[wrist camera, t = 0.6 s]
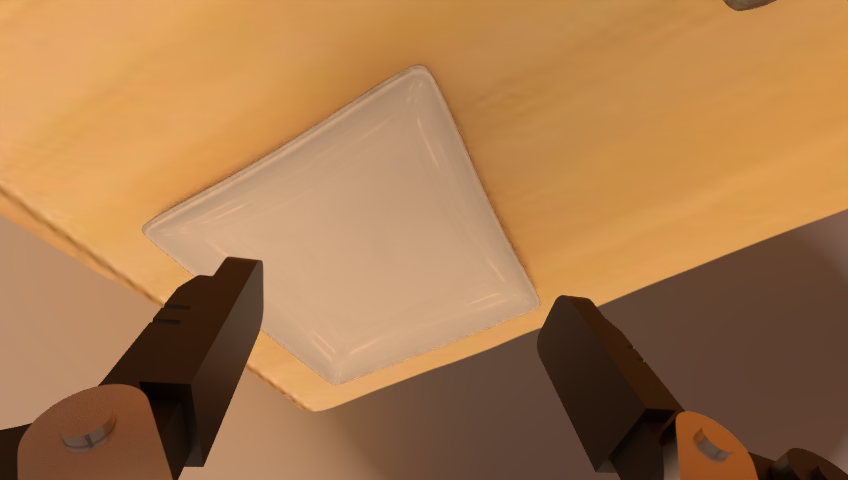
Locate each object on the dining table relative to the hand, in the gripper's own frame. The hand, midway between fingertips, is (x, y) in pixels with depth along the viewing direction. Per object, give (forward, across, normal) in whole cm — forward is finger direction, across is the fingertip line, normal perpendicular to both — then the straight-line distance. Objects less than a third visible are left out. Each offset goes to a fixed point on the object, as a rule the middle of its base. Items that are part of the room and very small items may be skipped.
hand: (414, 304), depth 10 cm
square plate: (+24, 0, +13) cm, 27 cm away
